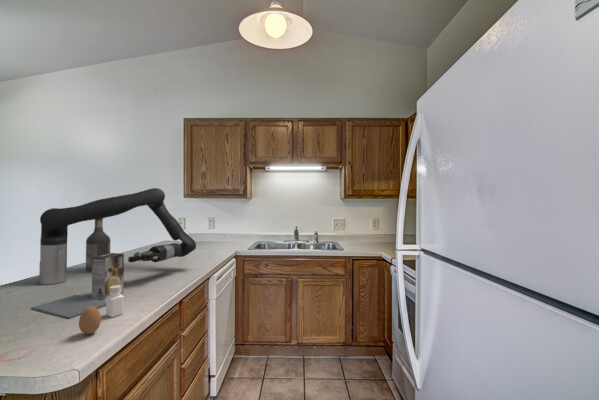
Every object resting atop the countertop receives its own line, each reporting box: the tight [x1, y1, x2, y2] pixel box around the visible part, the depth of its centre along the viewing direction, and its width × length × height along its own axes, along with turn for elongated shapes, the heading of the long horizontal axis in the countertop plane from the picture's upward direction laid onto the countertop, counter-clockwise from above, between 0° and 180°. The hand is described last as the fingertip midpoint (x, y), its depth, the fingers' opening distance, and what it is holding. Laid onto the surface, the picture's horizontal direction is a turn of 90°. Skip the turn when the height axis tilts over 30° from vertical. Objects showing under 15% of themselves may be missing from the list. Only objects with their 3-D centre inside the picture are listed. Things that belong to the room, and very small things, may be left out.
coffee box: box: [91, 252, 125, 300], centre depth 115 cm, size 9×6×16 cm
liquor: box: [85, 218, 111, 273], centre depth 151 cm, size 9×9×30 cm
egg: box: [78, 306, 102, 335], centre depth 83 cm, size 5×5×8 cm
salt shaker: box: [105, 285, 125, 318], centre depth 96 cm, size 4×4×10 cm
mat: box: [30, 294, 106, 320], centre depth 102 cm, size 20×14×1 cm
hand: (129, 259), depth 123 cm, fingers closed
